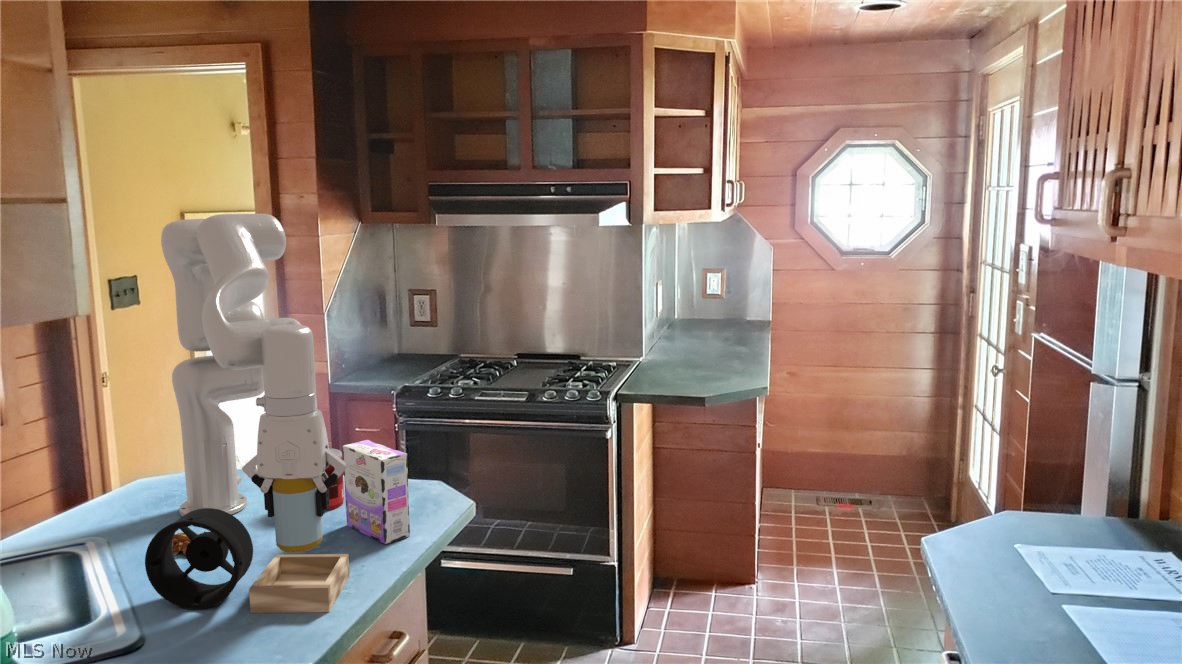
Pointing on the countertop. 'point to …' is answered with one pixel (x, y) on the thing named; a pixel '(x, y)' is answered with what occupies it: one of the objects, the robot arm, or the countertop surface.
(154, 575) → the black ducted fan housing
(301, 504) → the bottle
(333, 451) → the canned food
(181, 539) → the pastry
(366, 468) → the candy box
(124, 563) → the countertop surface
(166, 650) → the countertop surface
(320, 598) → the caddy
